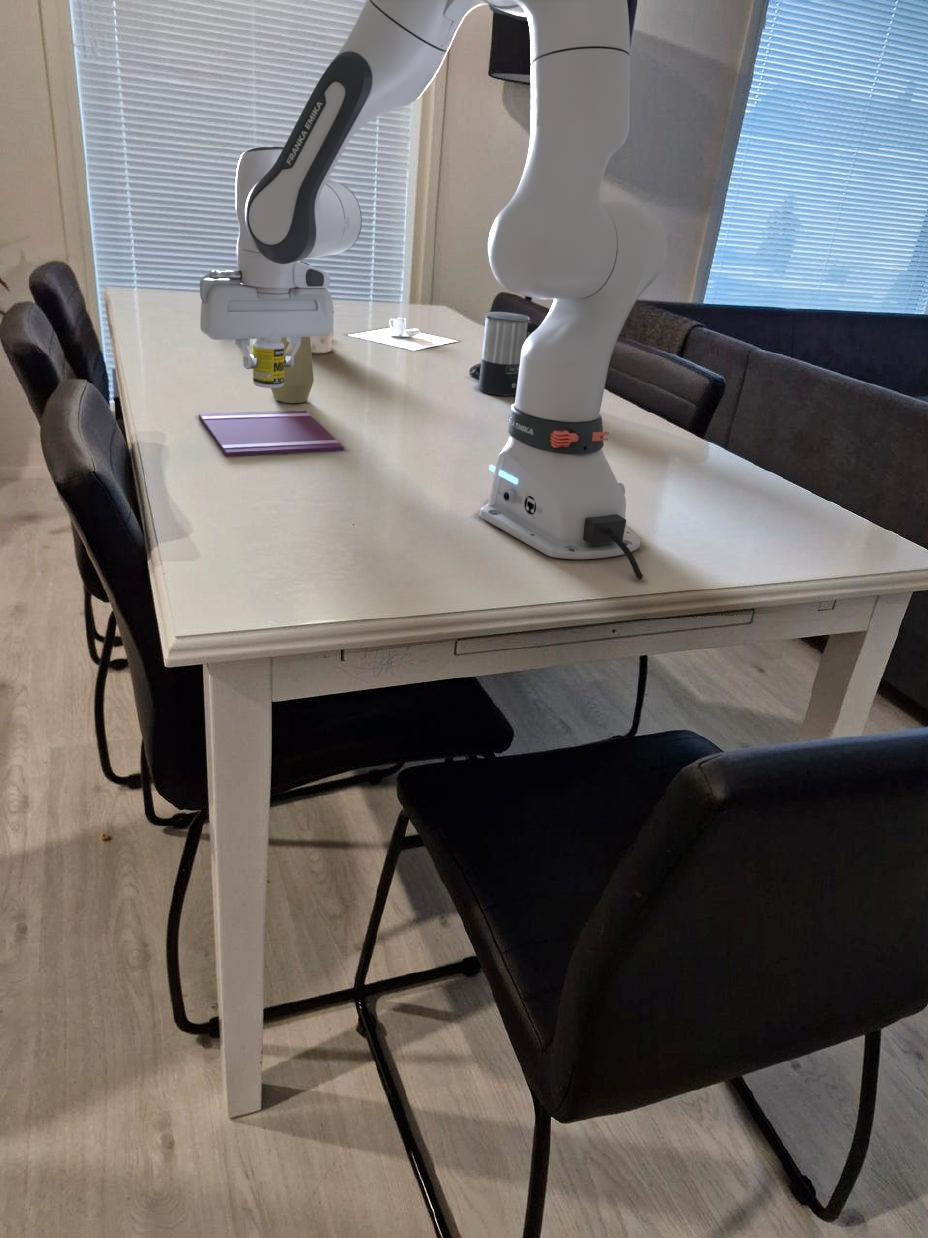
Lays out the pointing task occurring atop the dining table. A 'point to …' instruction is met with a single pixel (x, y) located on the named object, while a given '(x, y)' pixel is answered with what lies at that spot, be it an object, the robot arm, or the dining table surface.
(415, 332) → the teacup and saucer
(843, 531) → the dining table surface
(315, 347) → the teacup with lid
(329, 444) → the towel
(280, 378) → the supplement bottle
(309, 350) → the squeeze bottle
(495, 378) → the milk frother
